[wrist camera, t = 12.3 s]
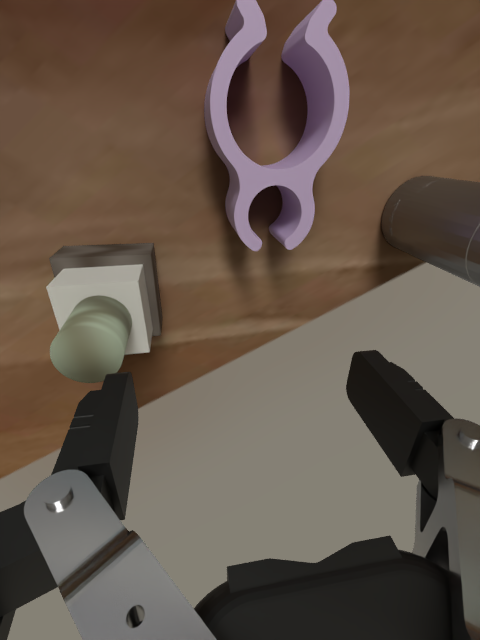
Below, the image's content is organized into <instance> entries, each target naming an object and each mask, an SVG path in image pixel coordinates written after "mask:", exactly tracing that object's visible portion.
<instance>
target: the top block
mask: <svg viewBox="0 0 480 640" xmlns="http://www.w3.org/2000/svg"><path fill="white" fill-rule="evenodd" d="M46 288H47V291H48V294H49V297H50V301H51V304H52V307H53V310H54V313H55V317H56V320H57V323H58V326H59V330H60V329H61V328H62V326H63V325H64V323H65V322H66V320H67V318H68V317H69V315H70V314H71V312H72V311H73V309H74V308H75V306H76V305H77V304H78V303H79V302H80V301H81V300H83V299H85V298H87V297H91V296H97V295H100V296H107V297H111V298H114V299H116V300H118V301H119V302H121V303H122V304H123V305H124V306H125V307H126V308H127V309H128V311H129V313H130V315H131V318H132V327H131V331H130V335H129V339H128V343H127V346H126V350H125V354H124V355H127V354H137V353H147V352H150V346H151V339H152V331H153V327H152V321H151V314H150V308H149V301H148V294H147V288H146V281H145V275H144V268H143V264H139V265H122V266H104V267H86V268H68V269H63V270H62V271H61V272H60V273H59V274H58V275H57V276H56V277H55V278H54V279H53V280H52V281H51V283H50V284H49V285H48V286H47V287H46Z"/></svg>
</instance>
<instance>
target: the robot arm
mask: <svg viewBox="0 0 480 640" xmlns="http://www.w3.org/2000/svg"><path fill="white" fill-rule="evenodd" d="M382 231H383V235H384V237H385V239H386V240H387V242H388V243H389V244H391V245H392V246H394V247H396V248H398V249H400V250H402V251H404V252H406V253H408V254H411V255H412V256H414V257H417V258H419V259H421V260H423V261H425V262H427V263H430V264H432V265H434V266H436V267H438V268H440V269H443V270H445V271H447V272H449V273H452V274H453V275H456V276H458V277H460V278H462V279H464V280H466V281H468V282H471V283H473V284H475V285H477V286H480V182H472V181H464V180H456V179H449V178H440V177H432V176H420V177H415V178H413V179H411V180H408V181H407V182H405V183H404V184H402V185H401V186H400V187H399V188H398V189H397V190H396V191H395V192H394V193H393V194H392V196H391V197H390V198H389V200H388V202H387V204H386V206H385V208H384V212H383V215H382ZM346 390H347V395H348V398H349V400H350V402H351V403H352V405H353V406H354V408H355V409H356V411H357V412H358V414H359V415H360V417H361V418H362V420H363V421H364V423H365V424H366V426H367V427H368V428H369V430H370V431H371V433H372V434H373V436H374V437H375V439H376V440H377V442H378V443H379V445H380V446H381V448H382V449H383V451H384V452H385V454H386V455H387V457H388V458H389V459H390V461H391V462H392V464H393V465H394V467H395V468H396V470H397V471H398V473H399V474H400V476H401V477H402V476H408V475H415V474H416V475H417V477H418V478H419V482H418V485H417V498H416V499H417V500H416V525H415V543H414V548H413V552H412V553H410V552H406V551H402V550H398V549H397V547H396V545H395V543H394V542H393V540H392V538H391V536H386V537H380V538H375V539H369V540H365V541H359V542H354V543H351V544H349V545H348V546H346V547H344V548H343V549H341V550H339V551H337V552H336V553H334V554H332V555H330V556H329V557H327V558H325V559H323V560H322V561H320V562H318V563H306V562H297V561H288V560H279V559H264V560H259V561H254V562H249V563H243V564H239V565H233V566H228V567H227V581H226V582H225V583H223V584H221V585H219V586H218V587H217V588H215V589H214V590H212V591H211V592H210V593H208V594H207V595H206V596H205V597H204V598H203V599H202V600H201V601H200V602H199V603H198V604H197V606H196V607H195V608H194V609H193V607H192V606H191V605H190V604H189V602H188V601H187V599H186V598H185V597H184V595H183V594H182V593H181V591H180V590H179V589H178V587H177V586H176V585H175V583H174V582H173V580H172V579H171V578H170V576H169V575H168V574H167V572H166V571H165V570H164V568H163V567H162V566H161V565H160V563H159V562H158V560H157V559H156V558H155V556H154V555H153V554H152V552H151V551H150V550H149V548H148V547H147V546H146V544H145V543H144V542H143V540H142V539H141V538H140V537H139V536H138V534H137V533H135V532H134V531H133V530H132V531H130V532H129V531H128V530H127V529H126V528H125V527H124V525H123V524H122V522H121V521H120V520H124V519H125V514H126V506H127V499H128V492H129V485H130V477H131V471H132V464H133V457H134V450H135V442H136V435H137V428H138V406H137V401H136V395H135V390H134V384H133V379H132V374H131V372H123V373H112V374H107V375H106V376H105V379H104V383H103V386H102V389H101V390H96V391H90V392H89V393H88V394H87V395H86V396H85V397H84V398H83V399H82V400H81V401H80V402H79V404H78V407H77V409H76V412H75V414H74V419H73V420H72V422H71V425H70V430H68V433H67V435H66V438H65V441H64V443H63V446H62V448H61V452H60V454H59V457H58V459H57V462H56V464H55V467H54V469H53V472H52V474H51V476H49V477H47V478H46V479H44V480H43V481H42V482H40V483H39V484H38V485H37V486H36V487H35V488H34V489H33V490H32V492H31V493H30V494H29V496H28V498H27V500H26V501H24V502H22V503H21V504H19V505H16V506H14V507H12V508H9V509H7V510H5V511H2V512H0V640H7V637H8V634H9V631H10V627H11V624H12V621H13V617H14V614H15V610H16V609H17V608H19V607H21V606H23V605H24V604H26V603H28V602H30V601H32V600H34V599H36V598H38V597H40V596H41V595H43V594H45V593H47V592H49V591H51V590H53V589H55V588H56V587H59V589H60V593H61V595H62V597H63V599H64V601H65V603H66V605H67V607H68V609H69V612H70V614H71V616H72V618H73V620H74V622H75V624H76V626H77V629H78V631H79V633H80V635H81V637H82V639H83V640H480V425H478V424H476V423H473V422H471V421H468V420H464V419H454V418H453V417H452V416H451V415H450V414H449V413H448V412H447V411H446V410H445V409H444V408H443V407H442V406H441V405H440V404H439V403H438V402H437V401H436V400H435V399H434V398H433V397H432V396H431V395H430V394H429V393H428V392H427V391H426V390H423V387H422V386H420V384H419V383H418V382H415V380H414V379H413V377H412V376H410V375H409V374H408V373H407V372H406V371H405V370H404V369H402V368H401V367H399V366H397V365H395V364H393V363H392V362H388V361H387V360H386V359H385V358H384V357H383V356H382V355H381V354H380V353H379V352H378V351H376V350H372V351H360V352H355V353H354V354H353V357H352V361H351V366H350V370H349V375H348V380H347V385H346Z"/></svg>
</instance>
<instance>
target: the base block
mask: <svg viewBox="0 0 480 640" xmlns="http://www.w3.org/2000/svg"><path fill="white" fill-rule="evenodd" d="M49 259H50V263H51V267H52V270H53V274H54V277H56V276H57V275H58V274H59V273H60V272H61V271H62V270H63V269H68V268H86V267H104V266H122V265H139V264H143V268H144V275H145V281H146V288H147V294H148V301H149V308H150V314H151V321H152V327H153V331H152V336H160V335H161V328H162V311H161V302H160V294H159V285H158V277H157V268H156V260H155V251H154V243H141V244H112V245H82V246H63V247H62V248H61V249H60V250H58V251H57V252H56V253H55V254H54V255H53V256H52V257H51V258H49Z"/></svg>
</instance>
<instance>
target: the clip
mask: <svg viewBox="0 0 480 640" xmlns="http://www.w3.org/2000/svg"><path fill="white" fill-rule="evenodd" d="M335 14H336V4H335V2H334V1H333V0H322V1H321V2H320V3H319V4H318V5H317V6H316V7H315V8H314V9H313V10H312V11H311V12H310V13H309V14H308V15H307V16H306V17H305V18H304V19H303V20H302V21H301V22H300V23H299V24H298V25H297V26H296V27H295V29H294V30H293V32H292V33H291V35H290V37H289V38H288V40H287V41H286V43H285V45H284V48H283V52H282V56H281V57H282V61H283V62H284V63H286V64H287V65H288V66H289V67H291V68H292V69H293V71H294V72H295V73H296V74H297V76H298V77H299V79H300V81H301V83H302V85H303V87H304V90H305V94H306V98H307V107H308V114H307V122H306V126H305V130H304V133H303V135H302V138H301V140H300V141H299V143H298V145H297V146H296V148H295V149H294V150H293V151H292V152H291V153H290V154H289V155H288V156H287V157H286V158H284V159H283V160H281V161H279V162H277V163H274V164H271V165H265V166H260V165H258V164H256V163H254V162H253V161H251V160H250V159H249V158H248V157H247V156H246V155H245V154H244V153H243V152H242V151H241V150H240V148H239V147H238V145H237V144H236V142H235V140H234V138H233V136H232V133H231V131H230V127H229V124H228V118H227V93H228V88H229V84H230V80H231V78H232V75H233V73H234V70H235V69H236V67H238V66H239V65H240V64H242V63H243V62H245V61H247V60H248V59H249V58H250V56H251V55H252V54H253V53H254V51H255V50H256V49H257V48H258V47H259V45H260V44H261V43H262V42H263V40H264V39H265V38H266V35H267V30H266V25H265V20H264V16H263V13H262V12H261V10H260V8H259V6H258V4H257V2H256V0H236V2H235V5H234V7H233V9H232V12H231V14H230V17H229V19H228V22H227V24H226V27H225V33H226V35H227V37H228V38H229V40H230V42H229V44H228V45H227V47H226V48H225V50H224V52H223V53H222V55H221V57H220V59H219V61H218V63H217V65H216V68H215V70H214V72H213V74H212V76H211V78H210V81H209V84H208V87H207V91H206V96H205V104H204V116H205V125H206V130H207V133H208V136H209V139H210V142H211V144H212V146H213V148H214V150H215V152H216V153H217V155H218V156H219V157H220V159H221V160H222V161H223V162H224V164H225V165H226V167H227V169H228V172H229V177H230V184H229V189H228V192H227V195H226V201H225V208H226V214H227V217H228V220H229V222H230V224H231V225H232V227H233V228H234V230H235V231H236V233H237V234H238V235H239V237H240V238H241V240H242V241H243V242H244V244H245V245H246V246H247V247H249V248H250V249H251V250H253V251H258V250H259V249H260V248H261V246H262V240H261V239H260V238H259V237H258V236H257V235H256V234H255V233H254V231H253V230H252V229H251V228H250V225H249V221H248V211H249V207H250V204H251V202H252V200H253V199H254V197H255V196H256V195H257V194H258V193H259V192H260V191H261V190H263V189H265V188H267V187H269V186H274V185H276V186H277V187H278V188H279V190H280V192H281V195H282V200H283V205H282V210H281V213H280V215H279V217H278V218H277V219H276V220H275V222H273V223H272V224H271V225H270V226H269V232H270V233H271V234H272V235H273V236H274V237H275V238H276V239H277V240H278V241H279V242H280V243H281V244H282V245H283V246H284V247H286V248H287V249H288V250H292V249H293V248H295V247H296V246H297V245H299V244H300V243H301V242H302V241H303V239H304V238H305V237H306V235H307V234H308V232H309V230H310V228H311V226H312V223H313V219H314V213H315V205H314V199H313V193H312V186H313V181H314V178H315V175H316V173H317V171H318V170H319V168H320V167H321V166H322V165H323V164H324V162H325V161H326V160H327V159H328V158H329V156H330V155H331V154H332V152H333V151H334V149H335V147H336V146H337V144H338V142H339V140H340V138H341V135H342V133H343V130H344V127H345V124H346V119H347V115H348V108H349V82H348V76H347V71H346V67H345V64H344V61H343V58H342V56H341V54H340V52H339V50H338V48H337V46H336V44H335V43H334V41H333V40H332V39H331V37H330V36H329V35H328V31H327V28H328V24H329V23H330V21H331V20H332V18H333V17H334V15H335Z"/></svg>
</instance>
